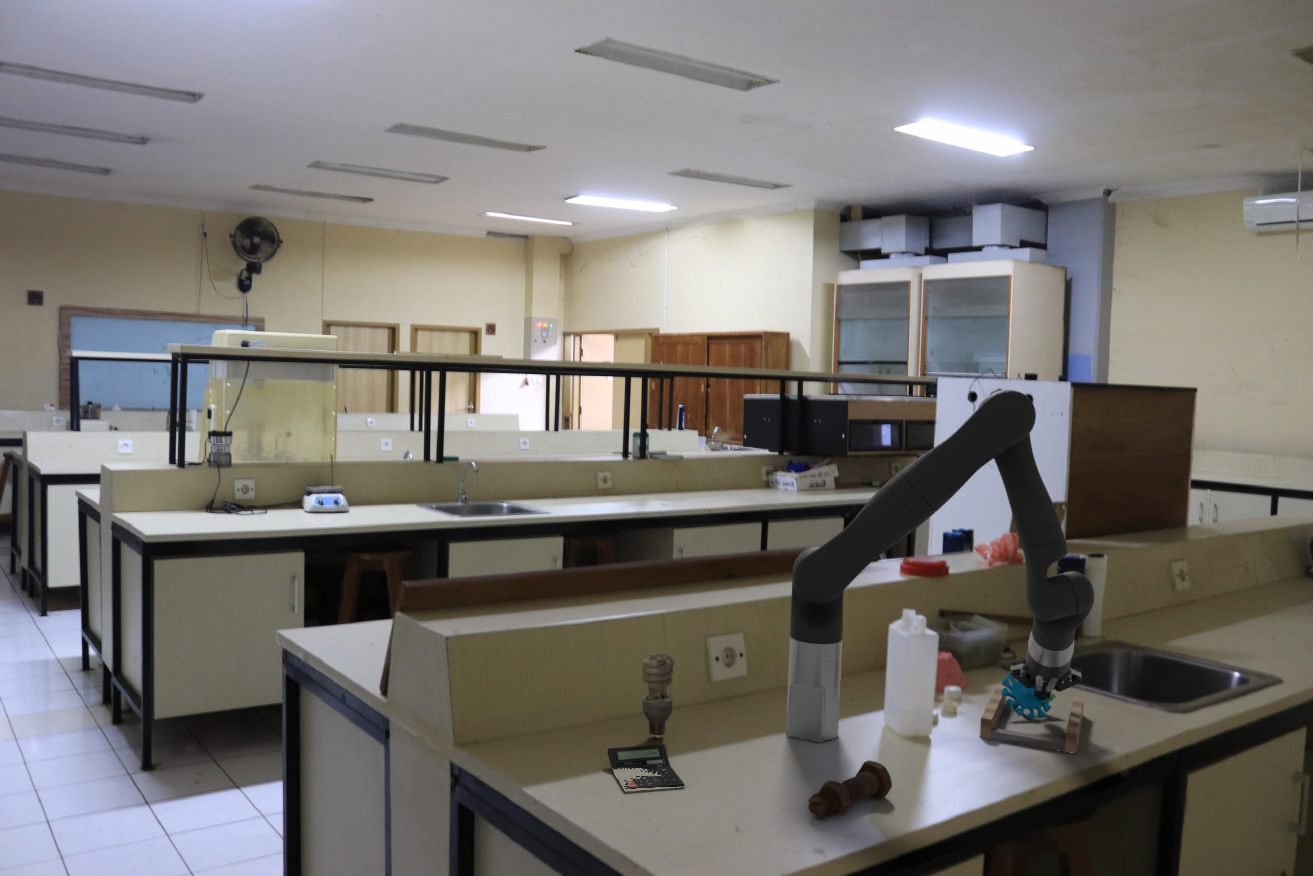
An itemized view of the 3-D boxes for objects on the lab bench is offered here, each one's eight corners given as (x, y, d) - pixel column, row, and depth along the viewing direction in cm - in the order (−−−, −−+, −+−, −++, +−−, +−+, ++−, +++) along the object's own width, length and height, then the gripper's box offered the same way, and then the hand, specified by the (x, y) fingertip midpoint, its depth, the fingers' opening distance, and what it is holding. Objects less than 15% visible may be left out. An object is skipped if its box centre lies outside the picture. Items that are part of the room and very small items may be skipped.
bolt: (810, 831, 140) (872, 801, 150) (835, 825, 137) (897, 794, 147) (795, 790, 142) (858, 763, 152) (819, 783, 138) (882, 756, 148)
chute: (1076, 754, 169) (1077, 734, 169) (979, 737, 176) (980, 718, 176) (1082, 715, 191) (1083, 697, 191) (996, 701, 198) (997, 684, 198)
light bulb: (658, 745, 166) (661, 658, 166) (633, 738, 170) (635, 652, 169) (677, 737, 171) (680, 652, 170) (652, 729, 174) (655, 646, 174)
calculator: (624, 794, 147) (625, 775, 146) (606, 765, 158) (607, 747, 158) (684, 789, 149) (685, 770, 149) (662, 761, 160) (663, 743, 160)
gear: (1009, 712, 185) (999, 665, 192) (995, 726, 190) (986, 680, 196) (1063, 720, 187) (1051, 674, 193) (1048, 734, 191) (1037, 688, 198)
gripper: (1088, 633, 178) (1077, 682, 190) (1011, 627, 181) (1004, 675, 194) (1091, 670, 173) (1079, 717, 185) (1011, 662, 176) (1005, 709, 189)
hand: (1041, 696), depth 189 cm, fingers closed
